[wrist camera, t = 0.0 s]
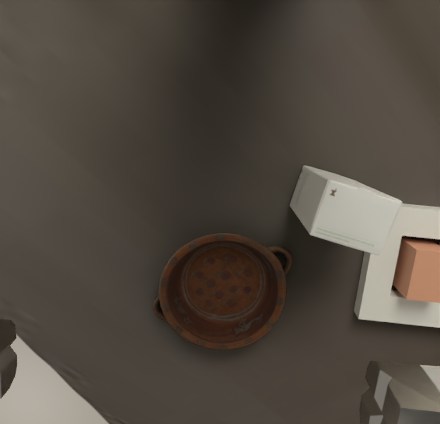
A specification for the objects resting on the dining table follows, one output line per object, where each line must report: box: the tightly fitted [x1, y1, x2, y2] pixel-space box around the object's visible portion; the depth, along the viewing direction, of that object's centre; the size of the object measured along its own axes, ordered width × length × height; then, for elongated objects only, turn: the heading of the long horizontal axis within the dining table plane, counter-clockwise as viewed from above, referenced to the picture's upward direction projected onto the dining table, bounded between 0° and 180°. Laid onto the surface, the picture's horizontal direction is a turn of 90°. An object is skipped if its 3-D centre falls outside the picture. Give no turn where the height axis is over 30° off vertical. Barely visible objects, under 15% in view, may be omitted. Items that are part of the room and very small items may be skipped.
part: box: [392, 238, 440, 303], centre depth 55 cm, size 7×4×6 cm, turn 175°
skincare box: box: [290, 166, 402, 255], centre depth 48 cm, size 8×7×16 cm
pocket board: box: [354, 204, 440, 328], centre depth 56 cm, size 17×14×2 cm
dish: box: [153, 233, 292, 350], centre depth 58 cm, size 18×22×5 cm
